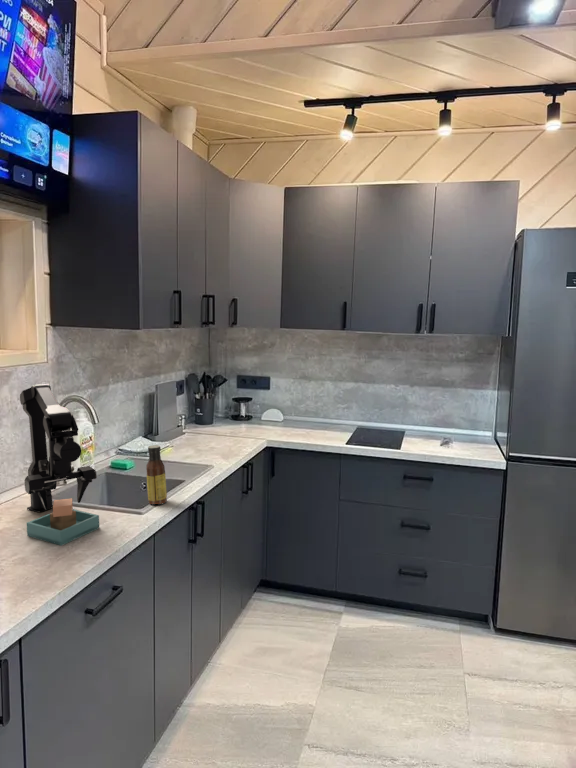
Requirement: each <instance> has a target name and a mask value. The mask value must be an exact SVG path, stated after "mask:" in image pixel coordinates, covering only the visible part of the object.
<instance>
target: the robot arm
mask: <svg viewBox="0 0 576 768" xmlns="http://www.w3.org/2000/svg"><path fill="white" fill-rule="evenodd" d="M51 387H52V386H51V385H50V384H48V383H43V384H42V383H41V384H33V385H32V386H30V387H29V388H26V389H24V390H22V391H21V393H20V395H19V403H20V405H22V409H23V411H24V412H25V414H26V415H27V417H28V421H29V434H30V435H29V436H30V444H31V445H30V446H31V447H30V448H31V457H32V459H31V460H32V461H31V463H30V465H29V467H28V469H27V475H26V476H25V479H24V491H25V492H26V493H27V494H28V495H30V506H28V507H26V509H27V510H28V509H29V510H28V511H32V512H36V513H42V512H45V511H48V510H51V509H53V504H54V503H53V495H52V490H56V489H57V485H58V484H57V483H58V482H62V481H69V480H73V479H76V483H77V486H76V487H77V489H76V499H77V500H76V501H77V503H78V504H81V501H82V499H83V496H84V494H85V491H86V490H87V487H88V486H89V485H90V483H92V482H93V480H96V479H98V478H97V477H98V476H97V470H96V469H95V468H93V467H91V465H86V466H81V467H80V466H79V467H77V469H76V471H72V463H74V462H75V461H77V460H78V459H79V458H80V457H81V455H82V447H81V446H80V444H79V443H78V442H77V441H75V439H74V437H75V436H76V437H77V436H78V435H79V434H78V432H79V426H78V424H77V422H76V418H75V417H74V415H73V414H72V413H71V411H70V410H69V409H68V408H67V407H65V406H62V405H60V404H59V402H58V399H57V398H56V396H55V395H54V394H53V391H52V388H51ZM47 438H48V444H47ZM47 445H48V446H47ZM48 447H49V449H48ZM48 450H49V455H48ZM48 456H49V457H48Z"/></svg>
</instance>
